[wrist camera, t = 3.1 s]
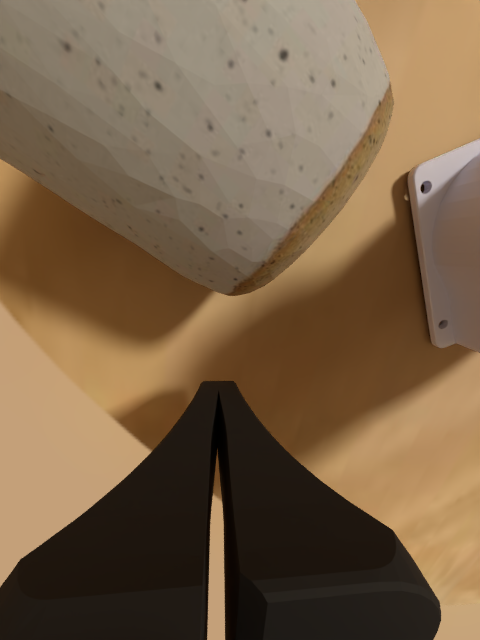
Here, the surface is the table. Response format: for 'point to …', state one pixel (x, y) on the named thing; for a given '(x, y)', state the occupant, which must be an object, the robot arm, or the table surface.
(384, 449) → the table surface
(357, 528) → the robot arm
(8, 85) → the ceramic mug
